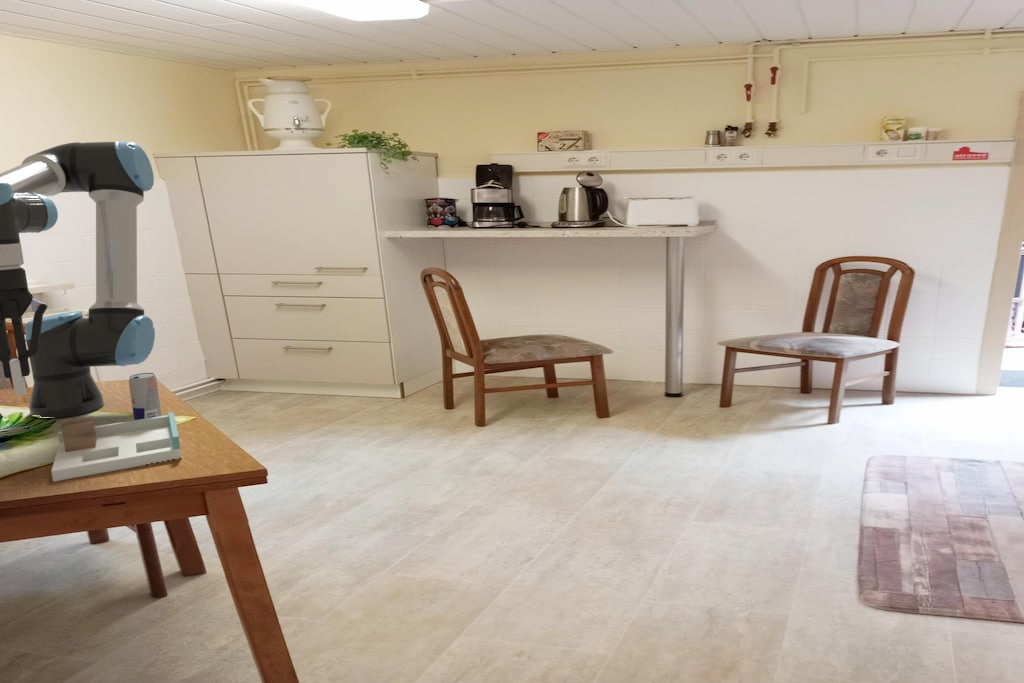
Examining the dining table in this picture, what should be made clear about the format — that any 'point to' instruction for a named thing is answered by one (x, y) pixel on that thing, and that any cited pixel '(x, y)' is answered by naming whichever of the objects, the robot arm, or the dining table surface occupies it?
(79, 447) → the walnut block
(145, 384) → the energy drink
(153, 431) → the board
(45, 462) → the dining table surface
